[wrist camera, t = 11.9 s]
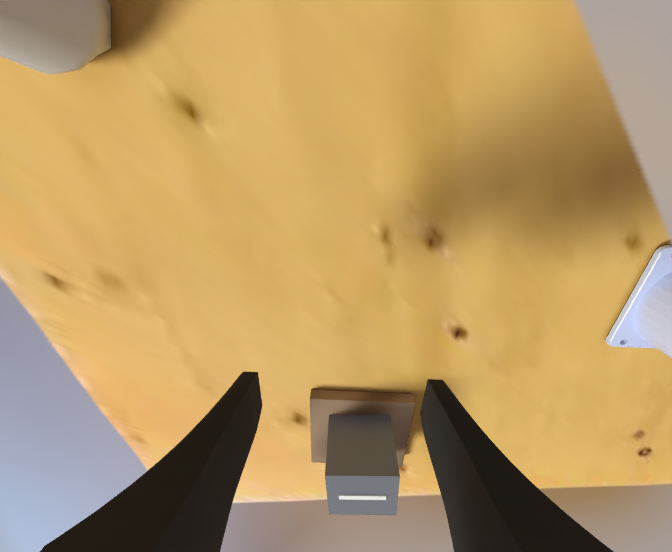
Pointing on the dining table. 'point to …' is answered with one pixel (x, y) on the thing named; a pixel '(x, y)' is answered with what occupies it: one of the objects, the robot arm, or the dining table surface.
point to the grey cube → (361, 465)
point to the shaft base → (359, 404)
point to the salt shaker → (54, 33)
